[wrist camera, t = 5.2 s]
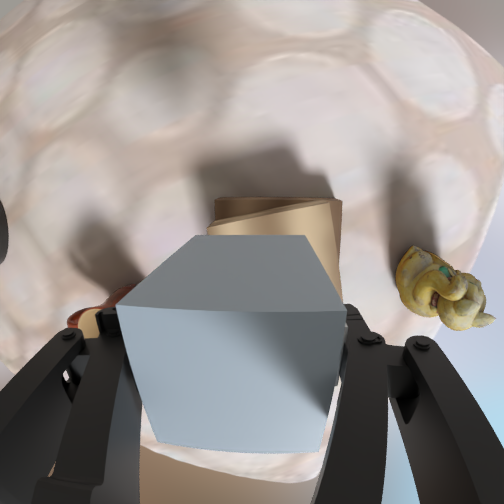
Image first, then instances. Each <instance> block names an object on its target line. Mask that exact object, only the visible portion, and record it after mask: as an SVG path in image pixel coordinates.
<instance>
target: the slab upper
mask: <svg viewBox="0 0 504 504" xmlns="http://www.w3.org/2000/svg"><path fill="white" fill-rule="evenodd" d="M207 232H208V235H305V236H306V237H307V239H308V241H309V243H310V244H311V246H312V248H313V250H314V251H315V253H316V255H317V257H318V258H319V260H320V262H321V264H322V265H323V267H324V269H325V271H326V273H327V274H328V276H329V278H330V280H331V282H332V283H333V285H334V287H335V289H336V291H337V293H338V294H339V296H340V298H341V300H342V302H343V299H342V289H341V280H340V272H339V264H338V256H337V249H336V242H335V235H334V228H333V222H332V216H331V210H330V204H329V202H326V201H324V200H322V199H319V200H314V201H309V202H304V203H298V204H293V205H288V206H283V207H278V208H273V209H268V210H263V211H259V212H254V213H249V214H244V215H240V216H235V217H231V218H226V219H222V220H217V221H214V222H213V223H211V224H210V225H209V226H208V227H207Z"/></svg>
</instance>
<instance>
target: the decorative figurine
mask: <svg viewBox="0 0 504 504" xmlns="http://www.w3.org/2000/svg"><path fill="white" fill-rule="evenodd" d="M395 281H396V285H397V288H398V291H399V293H400V298H401V301H402V302H403V304H404V305H405V306H406V307H407V308H408V309H409V310H410V311H412V312H413V313H415V314H418V315H420V316H423V317H435V316H438V315H439V317H440V319H441V321H442V322H443V323H444V324H445V325H446V326H447V327H448V328H450V329H452V330H456V331H462V330H466V329H469V328H470V327H479V328H480V327H484V326H487V325H489V324H491V323H492V322H493V321H494V320H495V319H496V318H495V317H493V316H492V315H490V314H486V313H483V311H484V309H485V305H486V297H485V295H484V292H483V290H482V287H481V282H480V281H479V280H477V279H476V278H475V277H474V276H473V275H471V274H469V273H461V272H460V271H459V270H454V269H453V267H452V266H450V265H449V264H448V263H447V262H445V261H444V260H442V259H441V258H440V257H438V256H437V255H435V254H433V253H431V252H428V251H423V250H422V249H420V248H419V247H416V246H411V247H410V248H409V250H408V251H407V252H406V253H405V255H404V256H403V257H402V259H401V261H400V262H399V265H398V267H397V270H396V280H395Z"/></svg>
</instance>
